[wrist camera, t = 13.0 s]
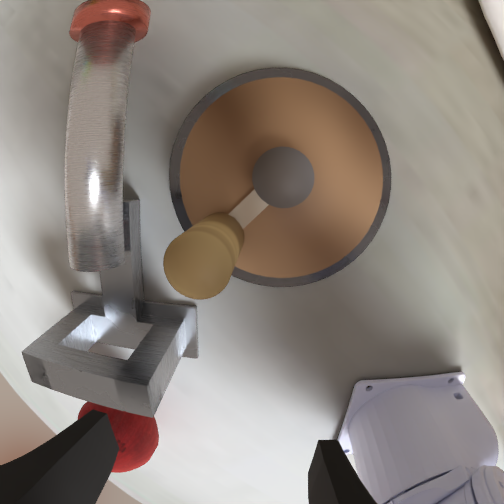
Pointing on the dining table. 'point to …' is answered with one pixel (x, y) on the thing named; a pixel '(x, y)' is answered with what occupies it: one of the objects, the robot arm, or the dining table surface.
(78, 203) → the copper capped rod
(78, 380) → the eye bracket
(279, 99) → the handwheel
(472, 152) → the dining table surface
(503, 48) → the plated food
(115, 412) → the pomegranate
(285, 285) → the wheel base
